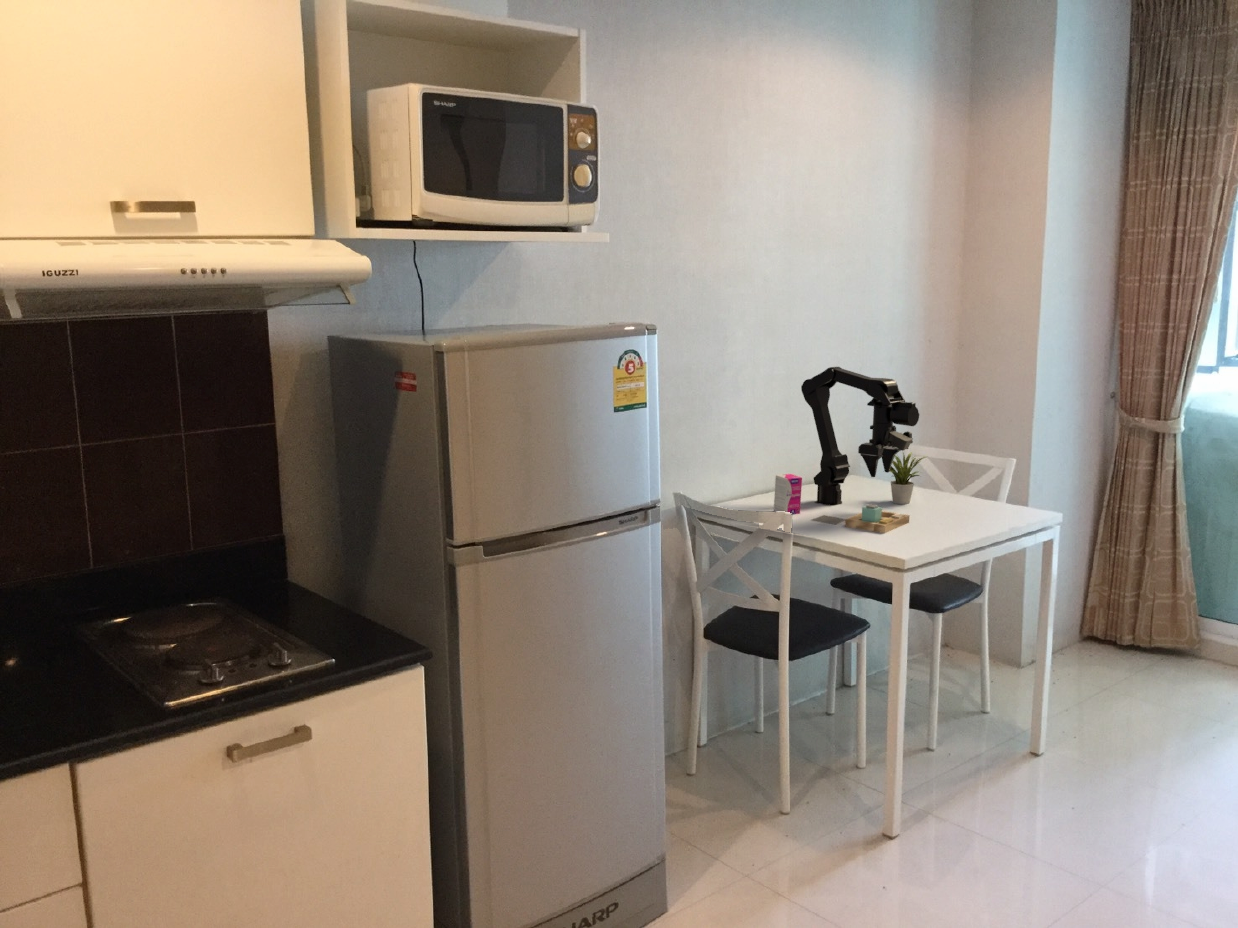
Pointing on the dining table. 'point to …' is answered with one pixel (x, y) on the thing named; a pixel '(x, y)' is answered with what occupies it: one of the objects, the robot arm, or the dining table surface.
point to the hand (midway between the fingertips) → (880, 474)
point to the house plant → (903, 480)
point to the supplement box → (788, 493)
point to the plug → (871, 513)
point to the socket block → (883, 526)
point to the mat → (829, 519)
